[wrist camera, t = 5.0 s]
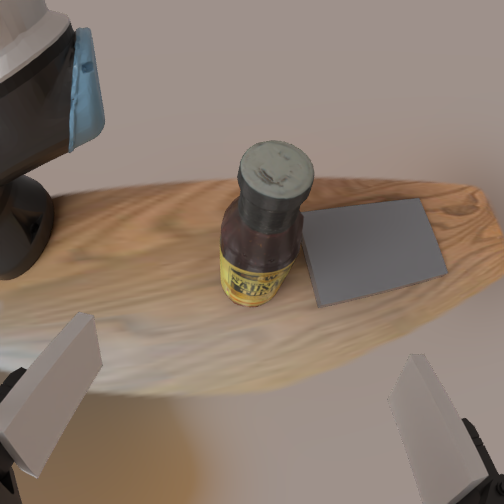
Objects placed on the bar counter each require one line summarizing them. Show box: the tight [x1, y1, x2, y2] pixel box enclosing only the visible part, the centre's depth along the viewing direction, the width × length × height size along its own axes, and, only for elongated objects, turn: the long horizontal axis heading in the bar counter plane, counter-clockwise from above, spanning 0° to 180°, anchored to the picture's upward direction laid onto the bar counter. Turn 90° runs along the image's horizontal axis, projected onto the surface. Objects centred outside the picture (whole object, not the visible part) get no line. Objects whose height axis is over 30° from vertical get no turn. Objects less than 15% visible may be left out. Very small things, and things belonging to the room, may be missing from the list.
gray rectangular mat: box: [301, 198, 448, 308], centre depth 36 cm, size 18×11×2 cm, turn 101°
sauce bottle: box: [220, 141, 314, 307], centre depth 25 cm, size 6×6×20 cm
